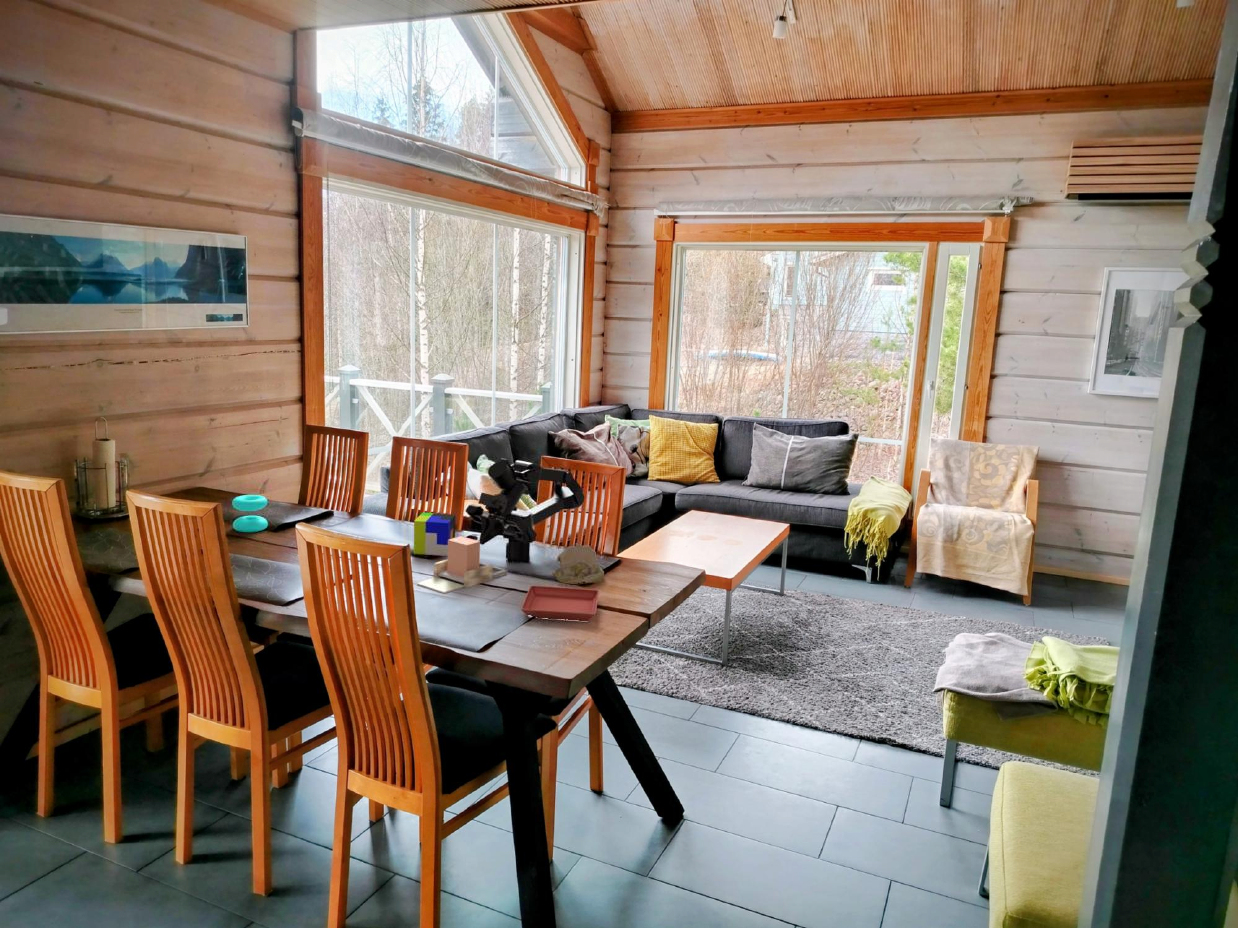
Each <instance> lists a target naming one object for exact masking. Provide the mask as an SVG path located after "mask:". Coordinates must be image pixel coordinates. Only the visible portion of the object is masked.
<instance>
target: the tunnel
mask: <svg viewBox="0 0 1238 928" xmlns="http://www.w3.org/2000/svg"><path fill="white" fill-rule="evenodd" d="M447 562H448V558H447V559H443V560H440V561H436V562H433V578H435V577H438V578H441V577H442V576H439V573H440V572H443V571H446V570H447ZM493 566H494V565H493V564H491V563H490V564H488V565H486V566H483V567H480V568H477V569H474V570H470V571H467V572H464V583H463V585H464V587H463V588H466V589H468V588H471V587H473V586H476V585H479V584H482V583H484V582H488V581H491V580H493V579H492V575H493Z"/></svg>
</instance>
